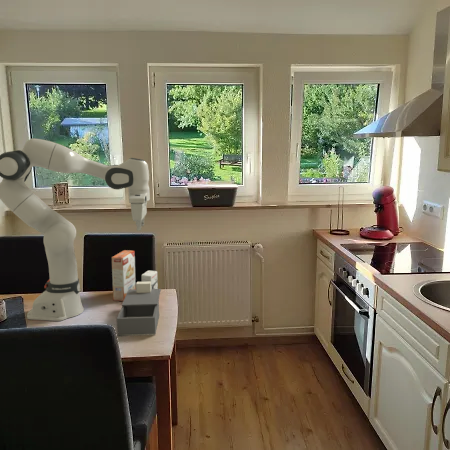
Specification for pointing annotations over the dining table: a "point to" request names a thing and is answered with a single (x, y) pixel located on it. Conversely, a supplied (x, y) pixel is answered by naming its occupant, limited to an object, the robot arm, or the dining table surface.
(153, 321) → the base
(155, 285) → the ink box
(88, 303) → the dining table surface
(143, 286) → the lid
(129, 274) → the cracker box
